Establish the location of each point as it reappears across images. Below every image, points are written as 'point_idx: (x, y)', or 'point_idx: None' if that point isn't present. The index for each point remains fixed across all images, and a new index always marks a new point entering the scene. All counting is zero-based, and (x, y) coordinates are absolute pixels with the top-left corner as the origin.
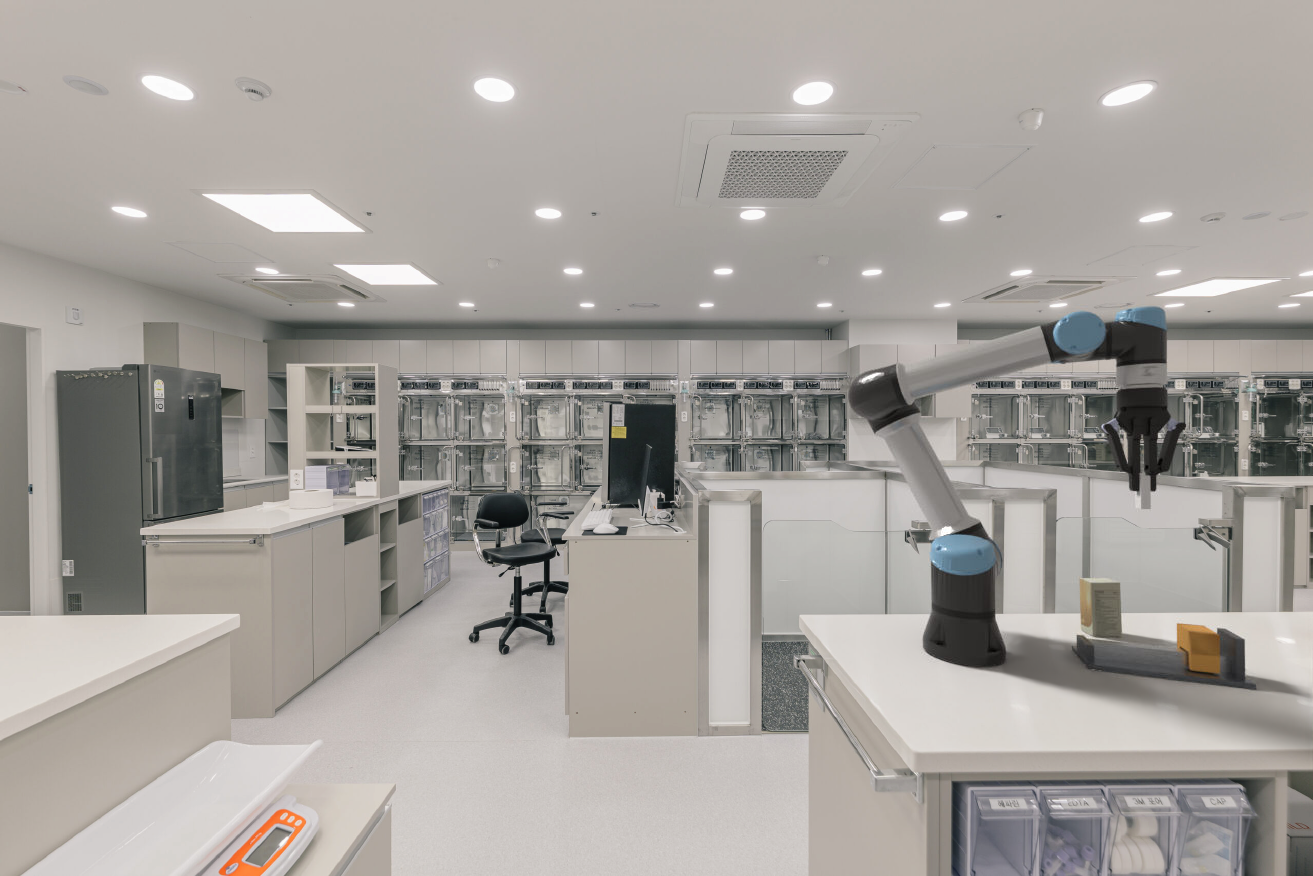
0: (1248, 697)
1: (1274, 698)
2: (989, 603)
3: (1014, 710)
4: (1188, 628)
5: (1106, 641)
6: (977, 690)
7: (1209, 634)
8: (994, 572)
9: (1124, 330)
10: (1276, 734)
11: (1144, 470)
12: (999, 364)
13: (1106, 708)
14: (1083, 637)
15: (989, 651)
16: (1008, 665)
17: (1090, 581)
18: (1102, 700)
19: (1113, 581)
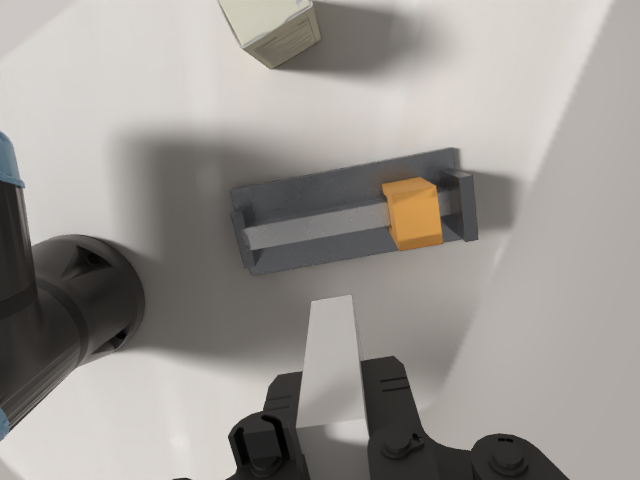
0: (437, 275)
1: (470, 260)
2: (65, 374)
3: (175, 453)
4: (402, 224)
5: (275, 230)
6: (131, 420)
7: (427, 245)
8: (22, 387)
9: None
10: (424, 381)
11: (369, 460)
12: None
13: None
14: (240, 226)
15: (116, 341)
16: (150, 315)
17: (240, 36)
18: (263, 378)
19: (297, 3)
